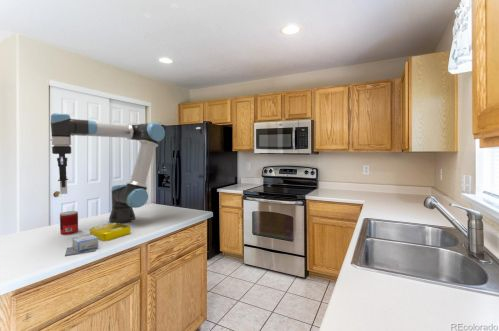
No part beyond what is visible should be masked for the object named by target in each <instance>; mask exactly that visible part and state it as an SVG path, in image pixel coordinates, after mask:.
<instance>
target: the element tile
mask: <svg viewBox="0 0 499 331" xmlns="http://www.w3.org/2000/svg"><path fill="white" fill-rule="evenodd" d="M131 233H132V232H131V226H130V225H128V224H124V223H107V224H103V225H99V226H94V227H92V228H91V227H90V229H89V234H92V235H93V236H95V237H97V238H98V241H103V242H108V241H111V240H115V239H117V238H122V237H124V236H128V235H131Z"/></svg>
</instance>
